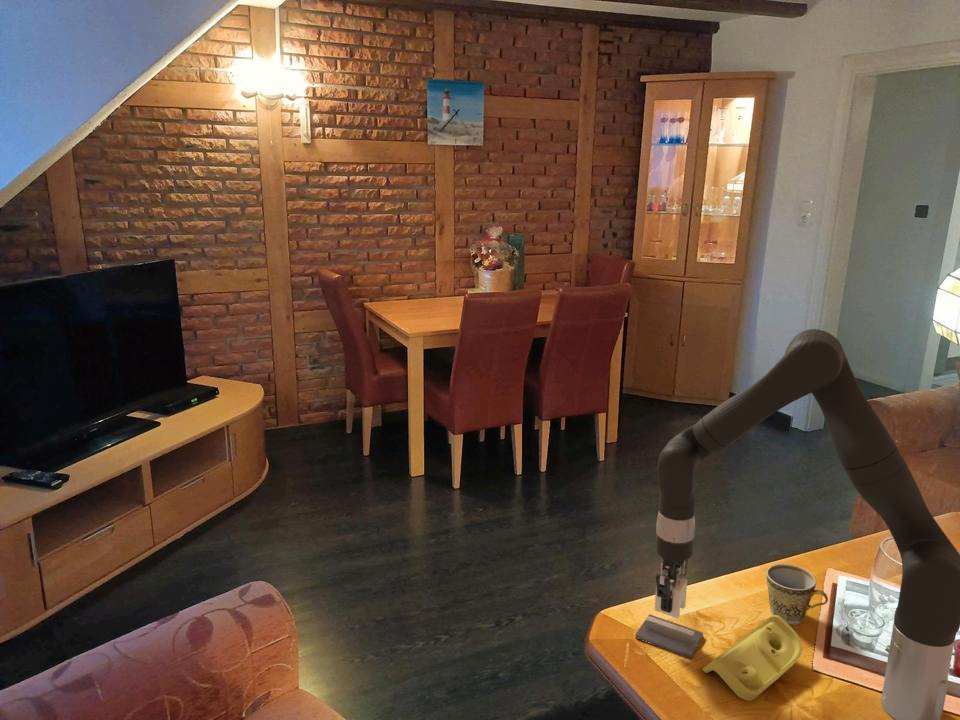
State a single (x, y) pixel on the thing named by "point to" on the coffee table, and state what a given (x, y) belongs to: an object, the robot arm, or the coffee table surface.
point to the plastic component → (758, 658)
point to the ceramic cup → (791, 592)
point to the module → (674, 599)
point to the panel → (670, 635)
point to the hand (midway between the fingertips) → (670, 603)
